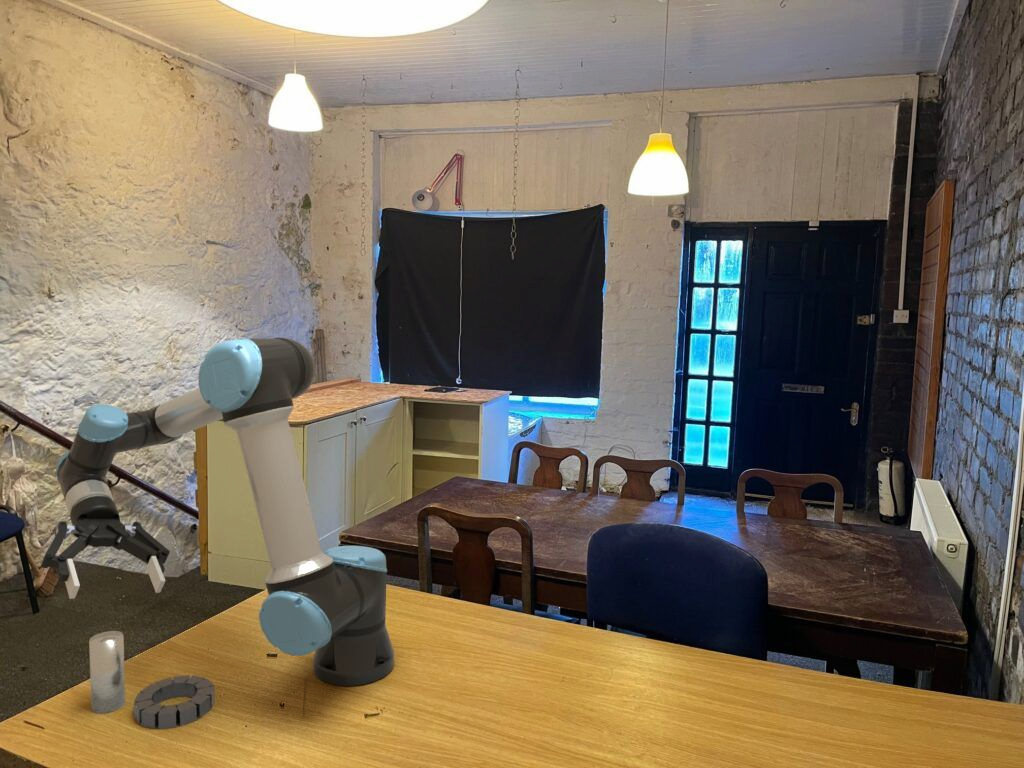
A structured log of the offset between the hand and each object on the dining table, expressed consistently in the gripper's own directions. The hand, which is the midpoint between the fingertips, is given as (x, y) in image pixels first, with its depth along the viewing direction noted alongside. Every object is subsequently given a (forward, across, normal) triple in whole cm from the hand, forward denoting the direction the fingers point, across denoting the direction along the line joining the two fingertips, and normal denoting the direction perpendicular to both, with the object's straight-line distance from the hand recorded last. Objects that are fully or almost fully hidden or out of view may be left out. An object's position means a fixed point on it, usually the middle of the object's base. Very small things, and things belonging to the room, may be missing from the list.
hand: (119, 589), depth 120 cm
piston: (+9, -2, -18) cm, 20 cm away
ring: (+16, -9, -13) cm, 22 cm away
